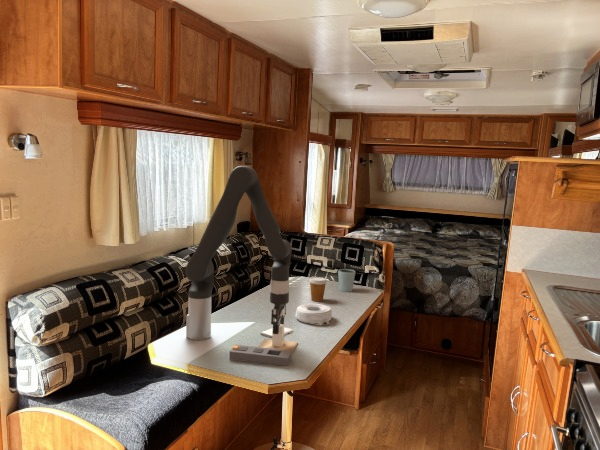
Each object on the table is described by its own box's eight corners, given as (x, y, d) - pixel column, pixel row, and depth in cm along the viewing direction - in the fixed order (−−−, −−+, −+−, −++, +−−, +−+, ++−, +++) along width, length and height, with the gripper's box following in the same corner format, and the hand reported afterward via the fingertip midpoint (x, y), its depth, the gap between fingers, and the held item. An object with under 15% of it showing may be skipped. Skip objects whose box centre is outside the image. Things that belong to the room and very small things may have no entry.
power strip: (229, 359, 170) (229, 349, 170) (235, 352, 177) (236, 343, 177) (287, 366, 166) (287, 356, 166) (291, 358, 173) (291, 349, 172)
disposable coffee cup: (326, 302, 248) (327, 281, 247) (308, 302, 248) (309, 280, 247) (325, 298, 258) (326, 277, 256) (308, 297, 258) (309, 276, 256)
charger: (272, 345, 183) (272, 321, 182) (274, 342, 187) (275, 318, 186) (281, 346, 182) (282, 322, 181) (283, 343, 186) (284, 319, 185)
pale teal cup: (335, 288, 280) (335, 269, 279) (350, 287, 283) (351, 268, 282) (341, 292, 270) (342, 272, 269) (357, 292, 273) (358, 272, 272)
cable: (328, 327, 210) (329, 314, 210) (291, 323, 214) (291, 310, 213) (333, 315, 227) (334, 303, 227) (299, 312, 231) (299, 300, 230)
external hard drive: (260, 335, 197) (278, 328, 207) (274, 340, 192) (293, 332, 202) (260, 332, 197) (278, 325, 207) (275, 336, 192) (293, 329, 202)
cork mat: (257, 348, 181) (257, 347, 181) (264, 339, 191) (264, 338, 191) (292, 352, 178) (292, 351, 178) (297, 343, 188) (297, 342, 188)
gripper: (275, 285, 190) (273, 323, 192) (265, 294, 176) (264, 335, 178) (292, 287, 188) (291, 325, 190) (284, 296, 174) (283, 337, 176)
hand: (278, 330), depth 184 cm, fingers open, 8 cm apart
